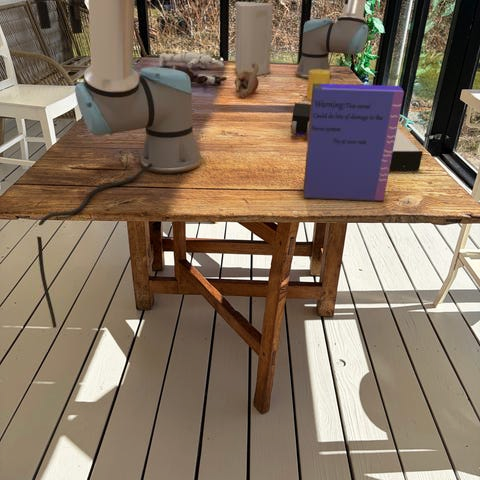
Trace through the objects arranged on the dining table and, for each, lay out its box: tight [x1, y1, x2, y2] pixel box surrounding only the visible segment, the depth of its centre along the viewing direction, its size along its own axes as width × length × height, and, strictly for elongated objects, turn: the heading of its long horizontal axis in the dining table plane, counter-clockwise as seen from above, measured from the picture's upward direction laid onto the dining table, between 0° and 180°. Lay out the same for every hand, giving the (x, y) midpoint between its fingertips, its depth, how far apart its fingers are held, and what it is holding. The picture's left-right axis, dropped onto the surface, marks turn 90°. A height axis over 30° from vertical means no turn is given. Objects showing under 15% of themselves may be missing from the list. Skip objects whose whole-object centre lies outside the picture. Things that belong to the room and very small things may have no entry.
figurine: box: [172, 64, 228, 85], centre depth 193 cm, size 24×8×30 cm
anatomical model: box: [234, 63, 260, 99], centre depth 181 cm, size 13×9×15 cm
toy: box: [158, 51, 225, 70], centre depth 222 cm, size 24×25×7 cm
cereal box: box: [302, 83, 405, 202], centre depth 102 cm, size 17×5×24 cm, turn 86°
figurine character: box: [290, 102, 311, 140], centre depth 143 cm, size 7×8×15 cm
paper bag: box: [234, 1, 274, 77], centre depth 210 cm, size 19×15×28 cm
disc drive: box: [389, 127, 424, 172], centre depth 128 cm, size 18×22×5 cm
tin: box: [306, 69, 331, 101], centre depth 178 cm, size 8×8×10 cm
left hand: (61, 31), depth 128 cm, fingers open, 13 cm apart
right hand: (326, 3), depth 164 cm, fingers open, 13 cm apart
